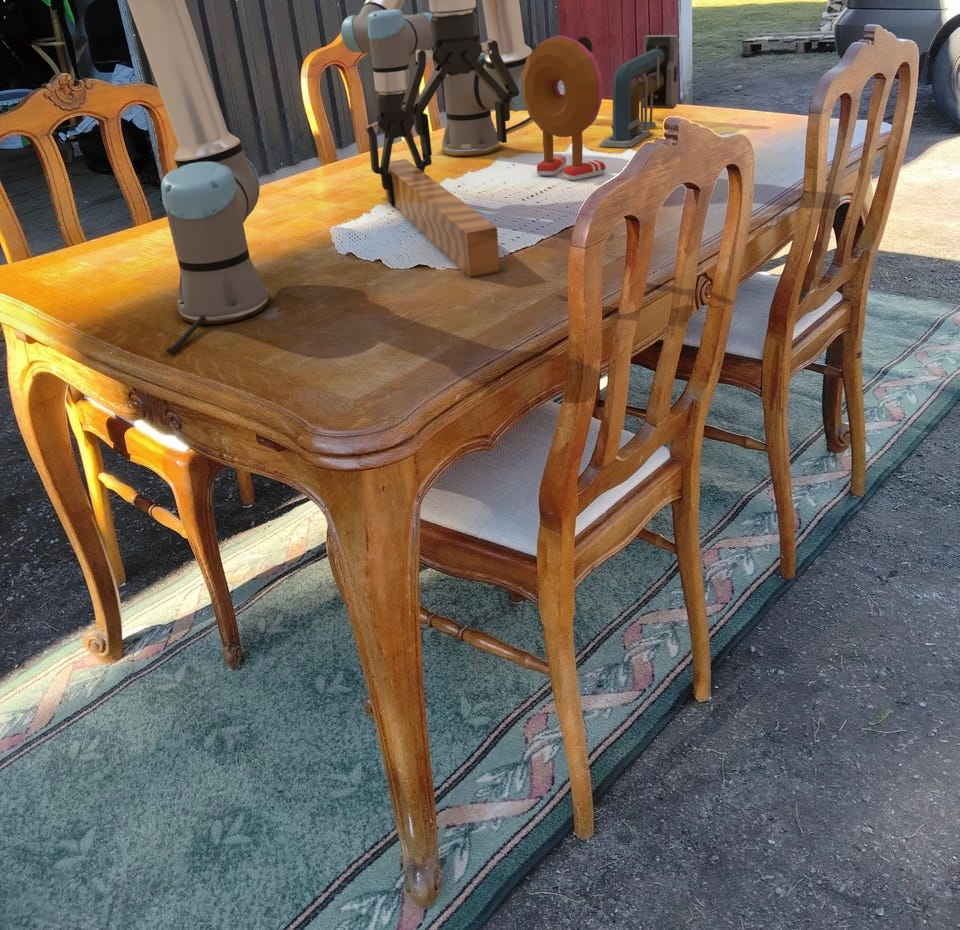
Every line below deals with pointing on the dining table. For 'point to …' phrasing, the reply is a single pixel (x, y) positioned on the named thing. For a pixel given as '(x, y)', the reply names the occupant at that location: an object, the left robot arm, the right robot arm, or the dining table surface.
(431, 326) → the dining table surface
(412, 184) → the post
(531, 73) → the toy
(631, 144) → the dark grey bent pipe
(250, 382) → the dining table surface
